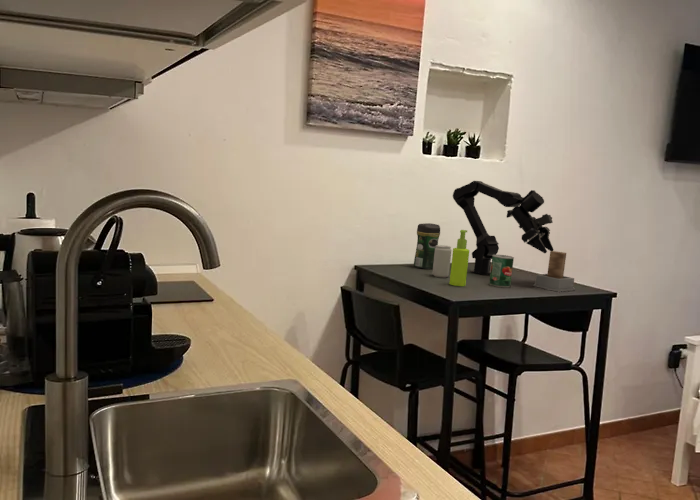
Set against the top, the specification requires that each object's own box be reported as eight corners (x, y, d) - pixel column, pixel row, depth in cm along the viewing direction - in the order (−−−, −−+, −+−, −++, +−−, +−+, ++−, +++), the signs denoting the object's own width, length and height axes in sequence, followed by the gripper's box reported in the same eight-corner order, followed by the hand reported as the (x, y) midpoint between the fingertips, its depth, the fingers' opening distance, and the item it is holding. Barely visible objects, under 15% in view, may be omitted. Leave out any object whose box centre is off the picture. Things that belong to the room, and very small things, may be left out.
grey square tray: (558, 291, 237) (560, 279, 236) (533, 285, 245) (534, 274, 244) (574, 290, 244) (576, 278, 243) (549, 284, 252) (551, 273, 251)
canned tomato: (509, 288, 236) (513, 258, 234) (488, 285, 238) (491, 256, 236) (510, 284, 243) (514, 256, 242) (489, 282, 245) (493, 253, 244)
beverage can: (449, 278, 245) (453, 247, 244) (433, 277, 245) (436, 246, 244) (447, 275, 252) (450, 245, 250) (431, 274, 252) (434, 244, 250)
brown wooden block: (545, 285, 244) (550, 251, 242) (548, 284, 247) (553, 250, 245) (559, 287, 241) (563, 253, 239) (561, 286, 244) (566, 252, 243)
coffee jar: (427, 265, 273) (432, 222, 271) (439, 269, 267) (444, 224, 264) (410, 266, 268) (414, 222, 265) (422, 269, 261) (426, 224, 259)
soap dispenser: (467, 284, 236) (473, 230, 234) (464, 287, 230) (470, 231, 227) (451, 281, 238) (457, 228, 236) (447, 284, 232) (453, 230, 229)
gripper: (533, 206, 237) (560, 240, 233) (547, 206, 253) (572, 237, 248) (510, 225, 242) (535, 258, 238) (525, 223, 258) (549, 254, 253)
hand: (549, 251), depth 244 cm, fingers open, 9 cm apart
